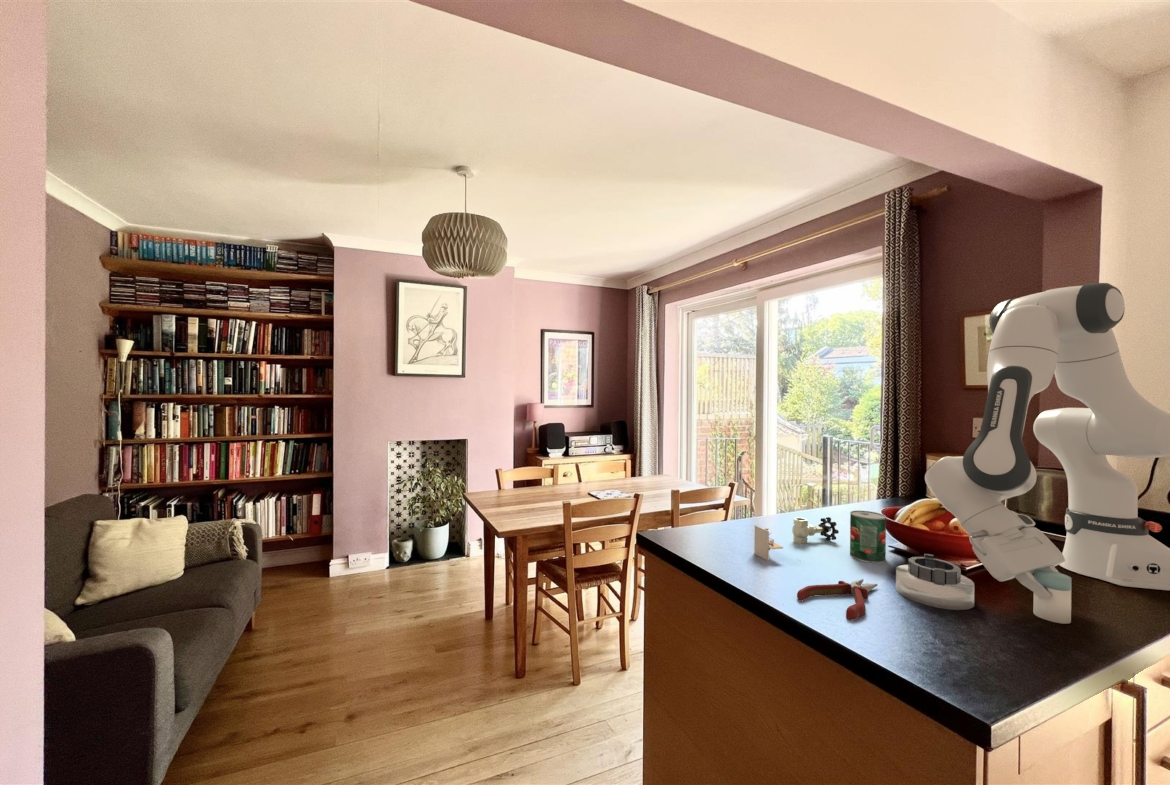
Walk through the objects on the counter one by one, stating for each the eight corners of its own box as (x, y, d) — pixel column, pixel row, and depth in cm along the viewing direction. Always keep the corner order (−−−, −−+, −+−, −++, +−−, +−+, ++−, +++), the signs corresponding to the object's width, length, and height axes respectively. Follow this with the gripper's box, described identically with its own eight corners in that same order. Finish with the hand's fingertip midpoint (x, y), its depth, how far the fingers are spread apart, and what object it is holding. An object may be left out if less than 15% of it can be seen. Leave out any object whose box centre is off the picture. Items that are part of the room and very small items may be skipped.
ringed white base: (960, 585, 102) (960, 553, 102) (983, 615, 88) (983, 578, 88) (889, 574, 108) (890, 544, 108) (901, 601, 94) (901, 566, 94)
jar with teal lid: (1063, 614, 89) (1063, 572, 89) (1076, 626, 84) (1077, 581, 84) (1028, 608, 91) (1029, 567, 91) (1039, 619, 87) (1040, 576, 87)
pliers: (899, 597, 97) (899, 584, 97) (853, 624, 85) (853, 610, 85) (842, 579, 106) (842, 567, 106) (794, 601, 94) (794, 588, 94)
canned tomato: (893, 563, 115) (893, 518, 115) (860, 562, 115) (861, 518, 115) (873, 552, 123) (874, 510, 123) (843, 551, 123) (843, 510, 123)
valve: (802, 547, 127) (838, 544, 130) (802, 522, 127) (838, 520, 130) (785, 539, 133) (820, 536, 136) (786, 516, 133) (821, 514, 136)
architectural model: (765, 552, 122) (765, 524, 122) (782, 561, 115) (783, 531, 115) (753, 553, 121) (754, 524, 121) (770, 563, 114) (771, 532, 114)
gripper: (978, 525, 90) (1043, 597, 81) (1033, 515, 98) (1098, 579, 89) (951, 542, 94) (1011, 611, 85) (1007, 531, 102) (1067, 593, 93)
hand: (1056, 595), depth 87 cm, fingers closed on jar with teal lid, 5 cm apart
